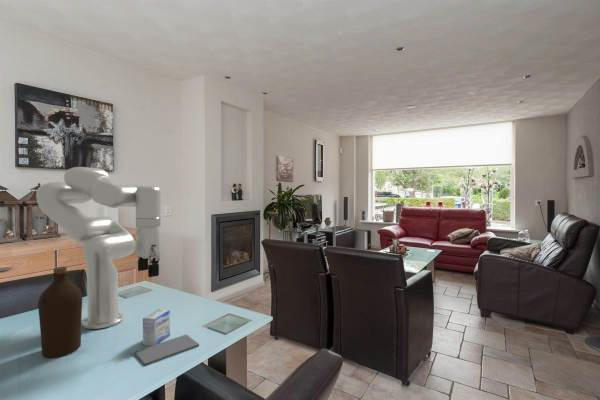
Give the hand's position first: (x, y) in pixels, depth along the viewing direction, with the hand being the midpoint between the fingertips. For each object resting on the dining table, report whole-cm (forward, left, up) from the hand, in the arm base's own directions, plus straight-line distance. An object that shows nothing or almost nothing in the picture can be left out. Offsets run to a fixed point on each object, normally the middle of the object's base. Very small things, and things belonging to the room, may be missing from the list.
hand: (148, 273), depth 108 cm
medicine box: (+8, 0, -20) cm, 22 cm away
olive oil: (-5, -23, -20) cm, 31 cm away
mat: (+17, 0, -20) cm, 26 cm away
